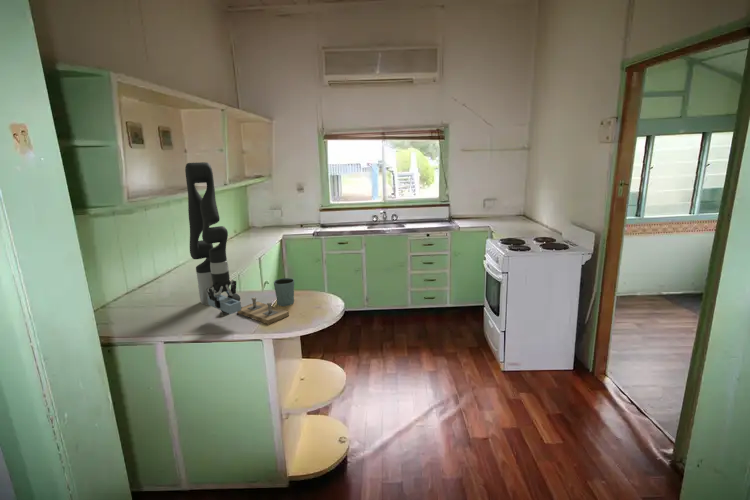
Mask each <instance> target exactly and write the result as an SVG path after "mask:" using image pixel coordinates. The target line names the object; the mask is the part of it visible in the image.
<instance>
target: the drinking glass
mask: <svg viewBox="0 0 750 500" xmlns="http://www.w3.org/2000/svg"><path fill="white" fill-rule="evenodd" d="M273 286H274V291H275V292H274V293H275V297H276V304H277V306H279V307H288V306H291V305H293V304H294V303H295V291H294V290H295V279H294V278H290V277H284V278H278V279H276V280H275V279H274V281H273Z"/></svg>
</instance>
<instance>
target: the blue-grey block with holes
mask: <svg viewBox="0 0 750 500" xmlns="http://www.w3.org/2000/svg"><path fill="white" fill-rule="evenodd" d="M219 300H220V308H217V307H216V306H215V301H213V300H210V298H209V297H208V304H209V305H208V306H210V307H212V308H215V309H217V310H219V311H221V310H222V311H224V312H227V314H229V315H231V314H234V313H238V312H237V311H240V310H241V308H242V304H241V300H240V301H237V300H234V299H232V298H229V297H227V295H223V294H221V296H220V297H219Z"/></svg>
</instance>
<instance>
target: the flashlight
mask: <svg viewBox="0 0 750 500" xmlns="http://www.w3.org/2000/svg"><path fill="white" fill-rule="evenodd" d="M232 298H233V299H234V300H237V301H240V302H241V295H240V294H239V293H237V292H236V293H235V294H233V295H232ZM220 312H221V313H222V314H228V313H227V312H224V311H222V310H220Z"/></svg>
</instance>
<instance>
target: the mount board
mask: <svg viewBox="0 0 750 500" xmlns="http://www.w3.org/2000/svg"><path fill="white" fill-rule="evenodd" d="M250 299H251V301H252V303H250V304H247V305H245V306H241V310H240V311H237V312H236V313H237V314H239V315H241V316H244V317H247V318H250V319H253V320H256V321H259V322H261V323H263V324H265V325H270V324H273V323H275V322H278V321H280V320H282V319H284V318H286V317H289V316H290V311H288V310H285V309H282V308H279V307H276V306H273V303H272V302H271V301H269V302H266V303H263V302H260V301H256V300H257V297H254V296H253V297H251V298H250Z"/></svg>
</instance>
